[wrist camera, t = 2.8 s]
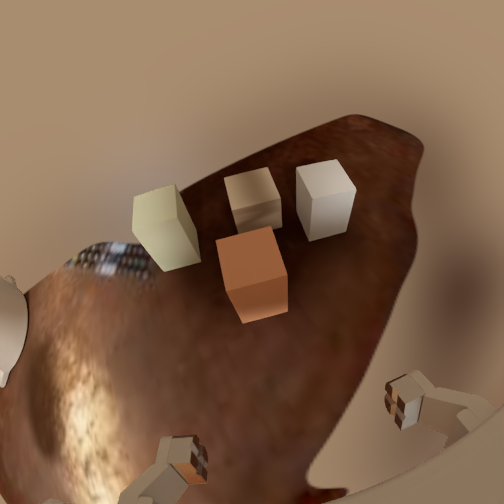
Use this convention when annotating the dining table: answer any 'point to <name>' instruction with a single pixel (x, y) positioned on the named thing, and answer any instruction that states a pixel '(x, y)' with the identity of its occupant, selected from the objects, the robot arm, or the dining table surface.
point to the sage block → (165, 228)
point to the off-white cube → (254, 200)
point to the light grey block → (323, 198)
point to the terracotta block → (254, 274)
